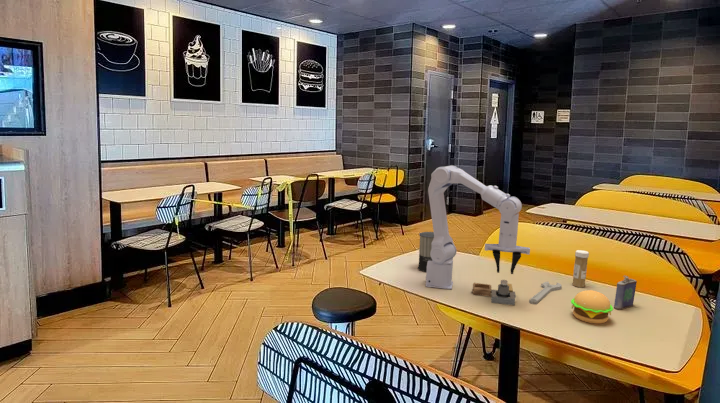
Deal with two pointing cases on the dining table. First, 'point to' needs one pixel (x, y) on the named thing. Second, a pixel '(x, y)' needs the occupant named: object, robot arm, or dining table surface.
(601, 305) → the hamburger
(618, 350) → the dining table surface
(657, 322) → the dining table surface
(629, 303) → the flask
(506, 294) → the grey knob
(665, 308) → the dining table surface
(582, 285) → the sprinkles bottle
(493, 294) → the socket block
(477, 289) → the brown square tray
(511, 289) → the bar
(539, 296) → the adjustable wrench
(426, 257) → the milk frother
